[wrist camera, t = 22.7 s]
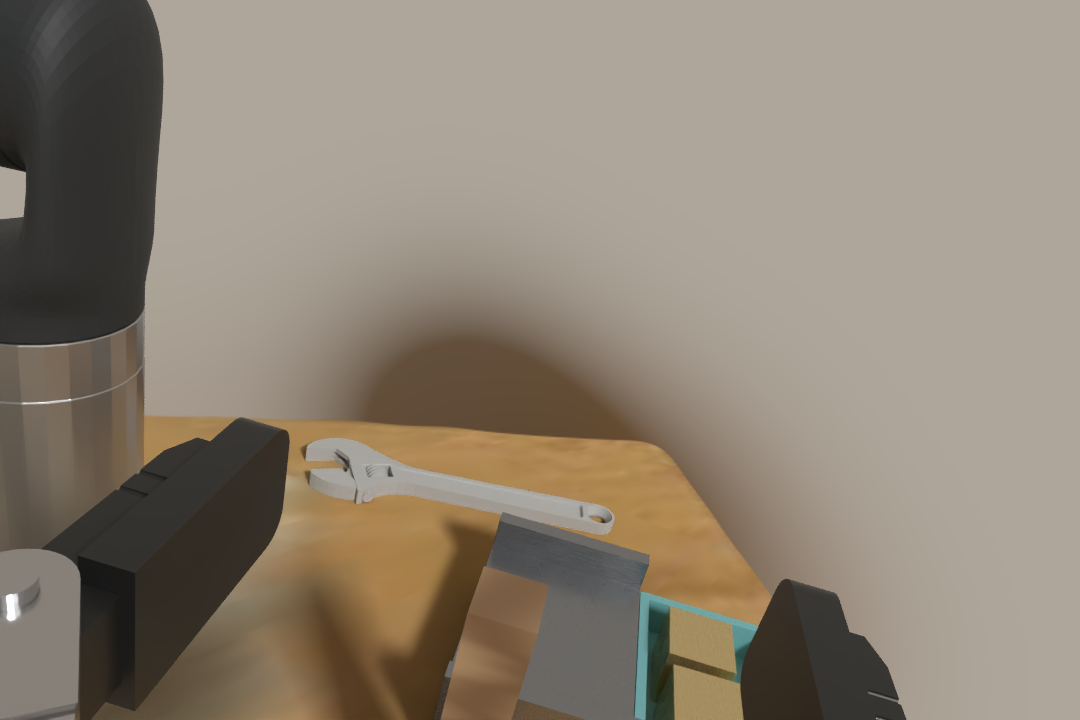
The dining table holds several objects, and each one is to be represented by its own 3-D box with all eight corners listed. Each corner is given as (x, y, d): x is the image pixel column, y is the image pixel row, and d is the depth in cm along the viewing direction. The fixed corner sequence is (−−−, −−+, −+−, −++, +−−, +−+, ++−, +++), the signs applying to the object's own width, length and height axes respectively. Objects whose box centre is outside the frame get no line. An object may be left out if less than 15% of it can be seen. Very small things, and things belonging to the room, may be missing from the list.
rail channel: (424, 757, 38) (444, 676, 36) (484, 580, 51) (502, 511, 49) (609, 815, 38) (642, 737, 35) (624, 622, 51) (649, 555, 48)
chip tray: (615, 817, 38) (631, 779, 37) (628, 624, 51) (640, 591, 49) (786, 871, 37) (808, 834, 36) (756, 662, 50) (772, 630, 49)
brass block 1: (669, 652, 43) (736, 673, 43) (669, 605, 46) (731, 624, 46) (649, 700, 44) (714, 720, 44) (651, 651, 48) (711, 669, 48)
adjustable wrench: (609, 522, 62) (615, 505, 61) (609, 573, 56) (615, 555, 55) (318, 448, 61) (321, 430, 61) (287, 491, 55) (290, 472, 55)
